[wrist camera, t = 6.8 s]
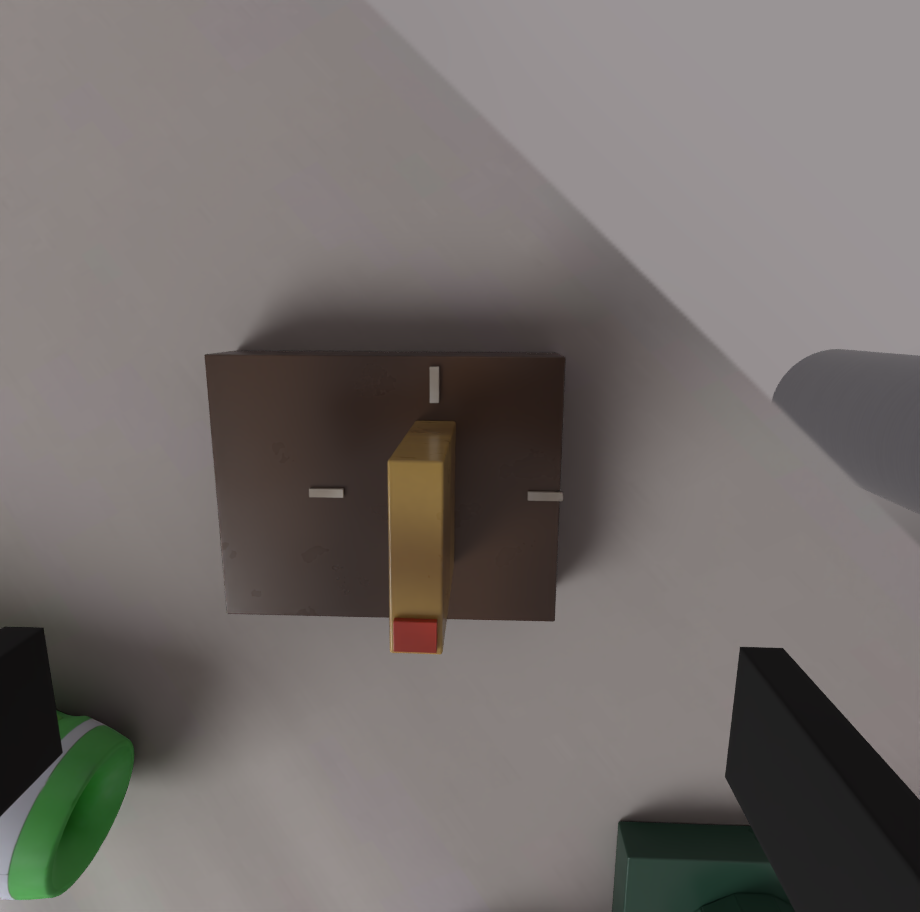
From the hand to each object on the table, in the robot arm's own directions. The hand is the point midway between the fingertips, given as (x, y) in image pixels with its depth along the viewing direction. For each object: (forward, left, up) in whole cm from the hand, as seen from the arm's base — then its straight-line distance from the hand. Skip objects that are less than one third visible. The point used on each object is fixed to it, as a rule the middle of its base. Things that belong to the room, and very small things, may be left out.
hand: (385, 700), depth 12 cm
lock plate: (+2, 0, -16) cm, 17 cm away
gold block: (0, 0, -13) cm, 13 cm away
